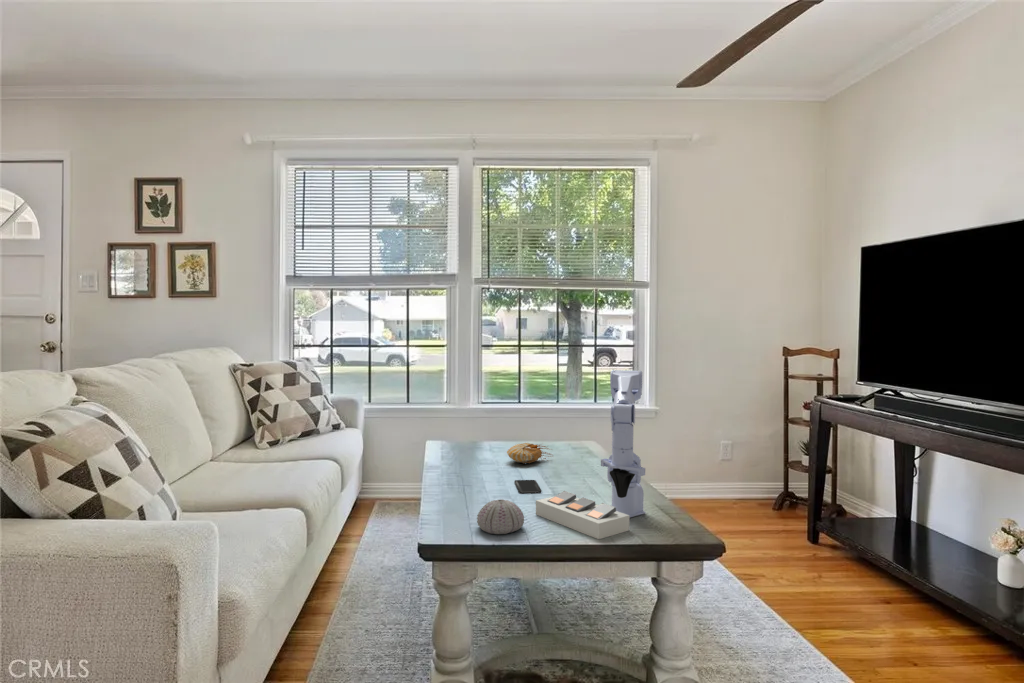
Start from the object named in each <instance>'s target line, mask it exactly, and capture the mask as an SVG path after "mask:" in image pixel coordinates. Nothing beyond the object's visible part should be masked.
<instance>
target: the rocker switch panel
mask: <svg viewBox="0 0 1024 683" xmlns="http://www.w3.org/2000/svg"><path fill="white" fill-rule="evenodd" d="M553 497H554V496H550V497H545V498H541V499H536V500H535V515H537V516H538V517H541V518H544V519H546V520H549V521H551V522H554V523H557V524H558V525H561V526H564V527H566V528H569V529H572V530H574V531H576V532H579V533H582V534H584V535H587V536H589V537H590V538H595V539H597V540H601V539H604V538H608V537H612V536H615V535H618V534H621V533H625V532H628V531H630V518H629V515H627V514H624V513H621V512H618V511H616V512H614V513H613V514H612V515H610V516H609V517H607V518H604V519H600V520H597V519H594V518H592V517H589V516H586V514H587V513H589V512H590V511H591V510H593V509H594V508H596V507H597V506H599V505H600V504H597V503H595V504H596V505H595V506H594V507H592V508H590V509H588V510H585V511H581V512H575V511H572V510H570V509H567V508H566V506H567V505H569V504H571V503H573V502H575V501H577V500H579V499H580V498H579V497H576V499H574V500H573V501H571V502H569V503H567V504H563V505H556V504H553V503H550V502H548V501H547V500H549V499H551V498H553Z"/></svg>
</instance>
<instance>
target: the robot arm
mask: <svg viewBox="0 0 1024 683" xmlns="http://www.w3.org/2000/svg"><path fill="white" fill-rule="evenodd" d="M609 379H610V380H609V381H610V385H609V386H610V394H611V397H612V399H613V405H611V406H610V423H611V431H612V433H611V434H612V435H611V436H612V438H611V440H612V441H611V455H609V457H608V458H601V459H600V466H601V467H602V468H603V467H607V472H606V473H607V478H606V479H607V481H608V482H609V483H611V506H613V507H616V511H618V512H621V513H624V514H627V515H629V519H630V518H633V517H637V516H641V515H644V514H646V511H645V510H644V501H645V500H644V488H643V487H642V485H641V483H642V482H641V479H642V477H643V476H646V467H642V465H641V464H642V463H641V458H640V456H638V455H637V454H636V453H635V452H634V425H635V423H636V406H635V404H636V401H638V400H640V399H641V398H642V394H643V393H642V391H643V371H642V370H641V369H638V370H631V369H630V370H629V369H628V370H627V369H625V370H624V369H612V370H610V376H609Z"/></svg>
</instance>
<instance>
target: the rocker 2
mask: <svg viewBox="0 0 1024 683" xmlns="http://www.w3.org/2000/svg"><path fill="white" fill-rule="evenodd" d="M598 505H599V506H597V507H596V508H594V509H593V510H591V511H590V512H589V513H587V514H586V516H589V517H592V518H594V519H597V520H600V519H604V518H607V517H609V516H610V515H612V514H613V513H614V512H616V507H613V506H612V505H609V504H607V503H605V502H604V503H603V502H602V503H600V504H598Z"/></svg>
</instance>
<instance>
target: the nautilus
mask: <svg viewBox="0 0 1024 683" xmlns="http://www.w3.org/2000/svg"><path fill="white" fill-rule="evenodd" d="M543 450H552V451H553V449H552V448H549V447H548V446H546V445H545V446H544V445H543V443H540V444H534V443H531V442H524V443H516V444H515V445H512V446H511V447H509V449H508V450H507V451H506V453H507V455H508V457H509V458H510V459H511V460H513V461H515V462H517V463H521V464H524V463H529V464H531V463H534V462H536V461H539V460H538V459H541V458H543V459H542V460H547V459H546V458H547V457H548V458H549V457H551V458H552V457H554V454H552V455H551V453H550V452H546V451H543ZM544 454H545V455H547V457H545V455H544ZM543 456H544V457H543Z"/></svg>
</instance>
